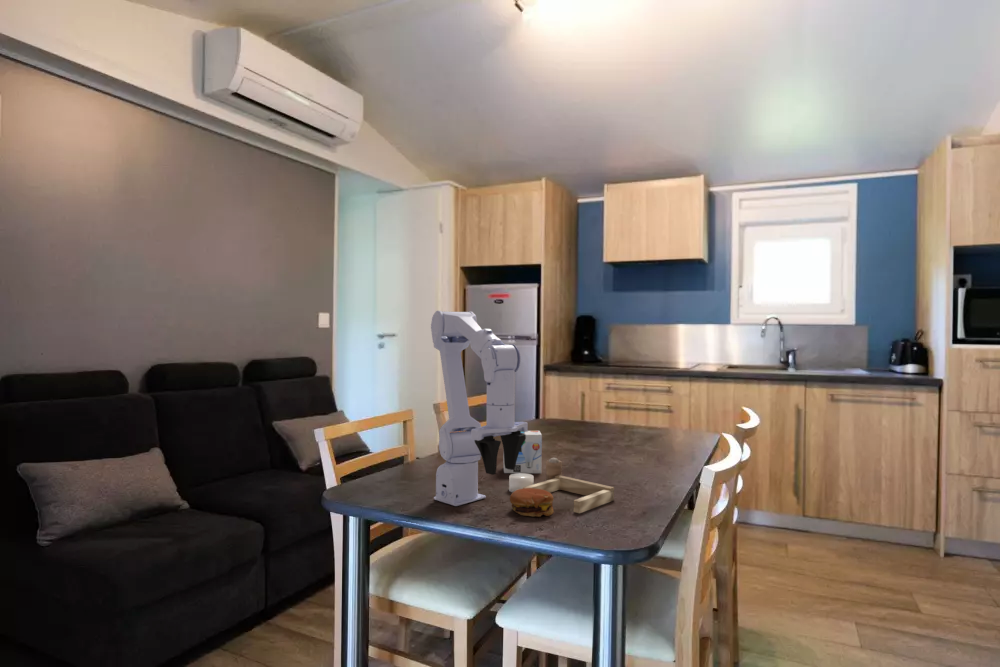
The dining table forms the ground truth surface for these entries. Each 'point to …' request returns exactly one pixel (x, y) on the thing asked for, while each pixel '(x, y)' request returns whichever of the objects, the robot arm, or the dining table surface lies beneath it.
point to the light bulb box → (528, 454)
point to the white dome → (520, 481)
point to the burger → (532, 502)
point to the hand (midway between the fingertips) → (500, 471)
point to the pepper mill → (553, 468)
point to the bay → (579, 491)
